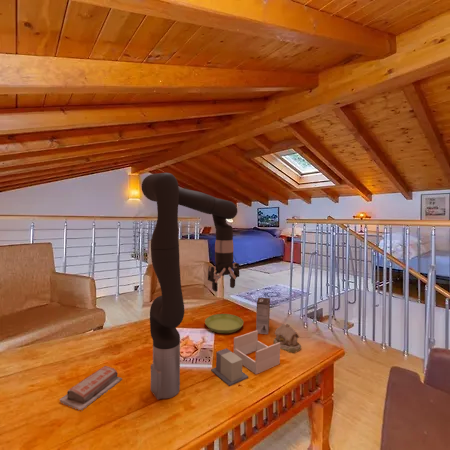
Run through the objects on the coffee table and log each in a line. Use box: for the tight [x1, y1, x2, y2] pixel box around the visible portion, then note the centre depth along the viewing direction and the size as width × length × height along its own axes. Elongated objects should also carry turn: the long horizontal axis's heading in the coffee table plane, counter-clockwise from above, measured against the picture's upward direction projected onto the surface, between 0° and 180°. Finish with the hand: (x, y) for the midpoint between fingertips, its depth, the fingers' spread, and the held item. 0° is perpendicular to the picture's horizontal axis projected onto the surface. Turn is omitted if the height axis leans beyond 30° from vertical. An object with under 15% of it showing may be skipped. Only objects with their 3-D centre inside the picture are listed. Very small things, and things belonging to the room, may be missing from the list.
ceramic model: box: [273, 323, 302, 353], centre depth 136 cm, size 14×11×10 cm
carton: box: [233, 329, 281, 375], centre depth 121 cm, size 13×14×9 cm
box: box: [215, 347, 243, 382], centre depth 112 cm, size 5×10×7 cm, turn 36°
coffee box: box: [255, 297, 271, 335], centre depth 151 cm, size 9×6×16 cm
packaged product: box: [59, 365, 123, 411], centre depth 101 cm, size 18×5×10 cm
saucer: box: [204, 313, 244, 334], centre depth 155 cm, size 21×21×3 cm
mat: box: [210, 366, 249, 387], centre depth 112 cm, size 9×12×1 cm
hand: (223, 289), depth 120 cm, fingers open, 8 cm apart
